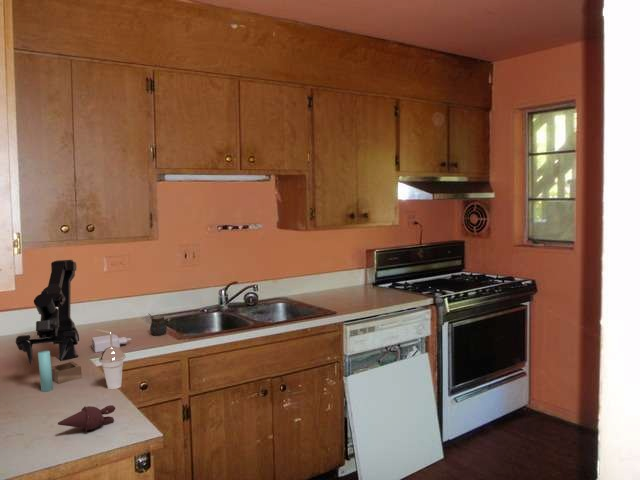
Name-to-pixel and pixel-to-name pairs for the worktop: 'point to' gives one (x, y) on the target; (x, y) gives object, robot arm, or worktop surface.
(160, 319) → the mate gourd
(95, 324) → the worktop surface
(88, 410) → the icecream
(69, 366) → the socket block
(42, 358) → the peg
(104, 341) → the lavender nozzle bottle
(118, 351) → the cup with straw
